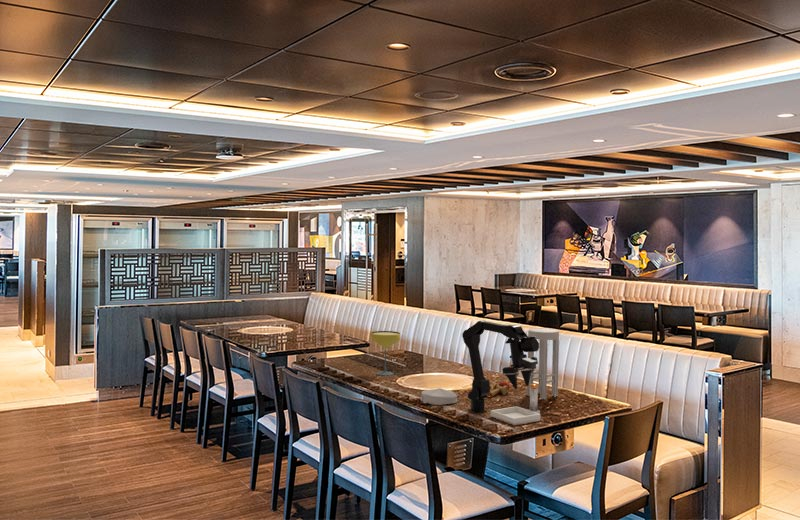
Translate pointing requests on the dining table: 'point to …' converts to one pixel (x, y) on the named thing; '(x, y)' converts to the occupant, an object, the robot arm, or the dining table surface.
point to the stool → (545, 360)
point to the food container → (438, 396)
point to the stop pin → (534, 398)
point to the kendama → (499, 388)
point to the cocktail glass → (385, 343)
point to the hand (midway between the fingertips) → (521, 387)
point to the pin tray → (515, 415)
